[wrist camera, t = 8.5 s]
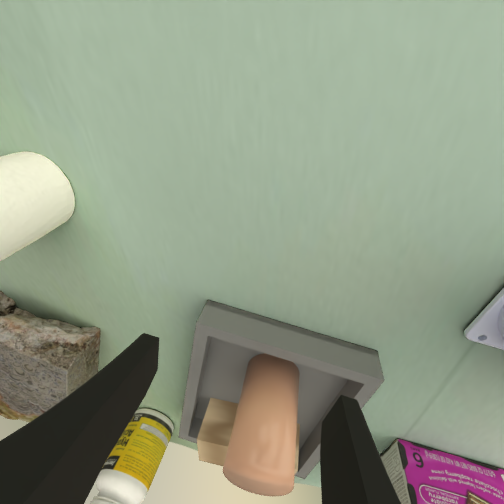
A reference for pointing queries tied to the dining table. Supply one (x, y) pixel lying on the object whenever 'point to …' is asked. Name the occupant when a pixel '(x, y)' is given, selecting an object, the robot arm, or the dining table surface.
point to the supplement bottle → (134, 459)
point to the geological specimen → (41, 361)
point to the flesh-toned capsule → (265, 428)
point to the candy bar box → (440, 476)
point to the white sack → (31, 200)
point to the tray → (282, 346)
